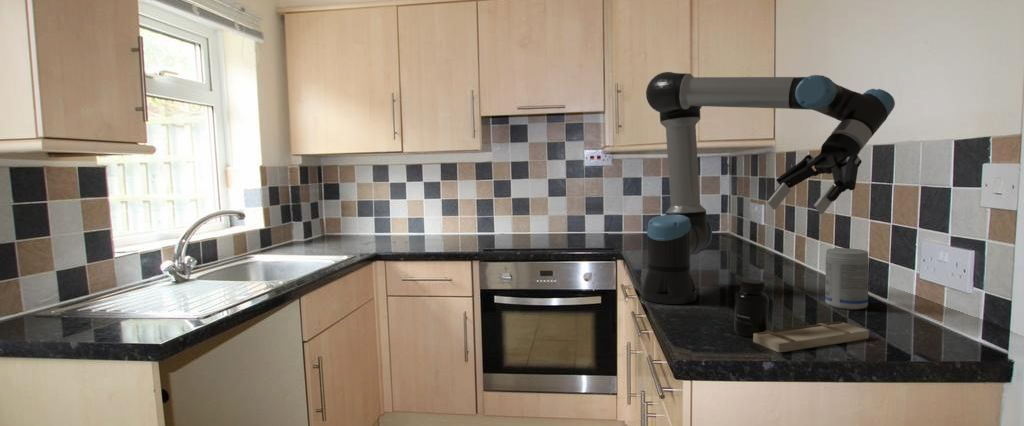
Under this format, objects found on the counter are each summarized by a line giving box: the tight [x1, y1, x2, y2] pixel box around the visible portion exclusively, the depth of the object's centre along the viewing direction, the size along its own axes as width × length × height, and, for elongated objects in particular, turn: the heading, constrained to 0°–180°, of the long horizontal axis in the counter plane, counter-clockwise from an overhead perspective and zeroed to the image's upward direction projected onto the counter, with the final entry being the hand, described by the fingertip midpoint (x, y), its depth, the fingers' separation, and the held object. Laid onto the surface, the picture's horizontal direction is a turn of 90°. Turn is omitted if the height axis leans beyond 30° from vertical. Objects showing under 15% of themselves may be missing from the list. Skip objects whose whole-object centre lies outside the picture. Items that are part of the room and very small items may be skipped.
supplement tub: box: [824, 247, 870, 310], centre depth 137 cm, size 10×10×15 cm
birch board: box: [752, 320, 870, 353], centre depth 111 cm, size 7×24×2 cm, turn 107°
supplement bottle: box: [733, 278, 770, 339], centre depth 116 cm, size 7×7×12 cm
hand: (793, 207), depth 122 cm, fingers open, 13 cm apart
